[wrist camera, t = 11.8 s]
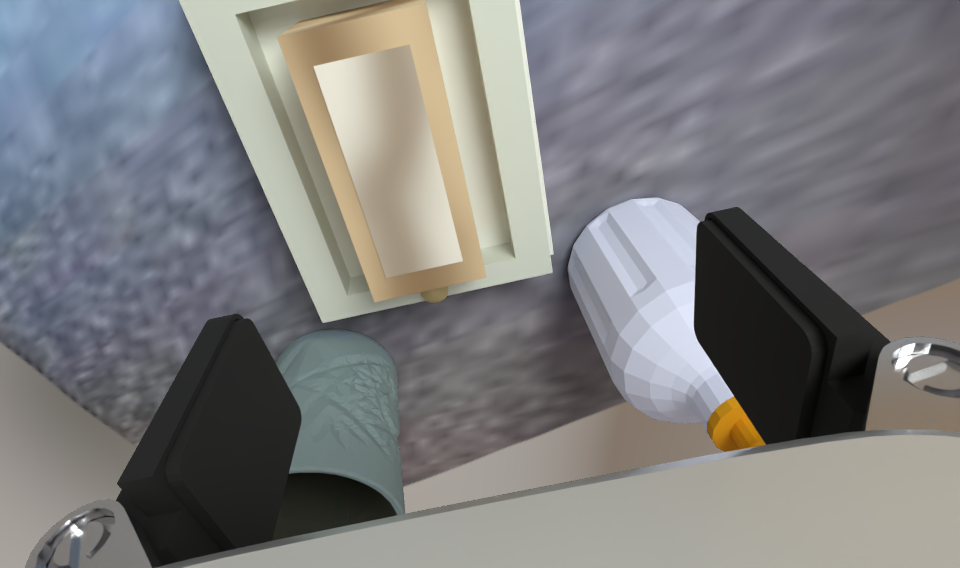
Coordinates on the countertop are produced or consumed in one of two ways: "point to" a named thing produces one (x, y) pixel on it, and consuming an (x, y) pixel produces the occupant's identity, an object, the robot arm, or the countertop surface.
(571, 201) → the countertop surface
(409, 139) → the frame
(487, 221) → the cream rectangular tray
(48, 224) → the countertop surface
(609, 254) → the soap bottle
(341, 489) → the teal embossed pot
